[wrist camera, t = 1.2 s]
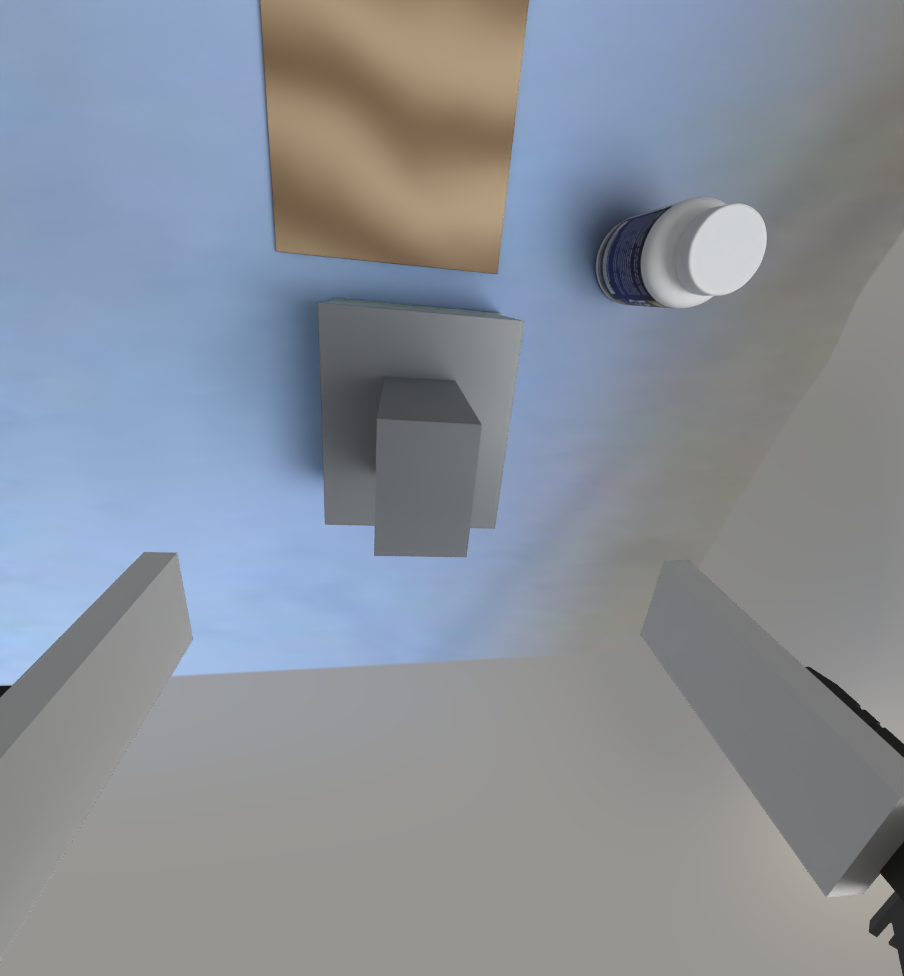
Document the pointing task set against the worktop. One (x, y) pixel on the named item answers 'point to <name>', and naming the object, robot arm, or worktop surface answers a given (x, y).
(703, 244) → the pill bottle
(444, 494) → the lid
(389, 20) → the plate
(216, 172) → the worktop surface
